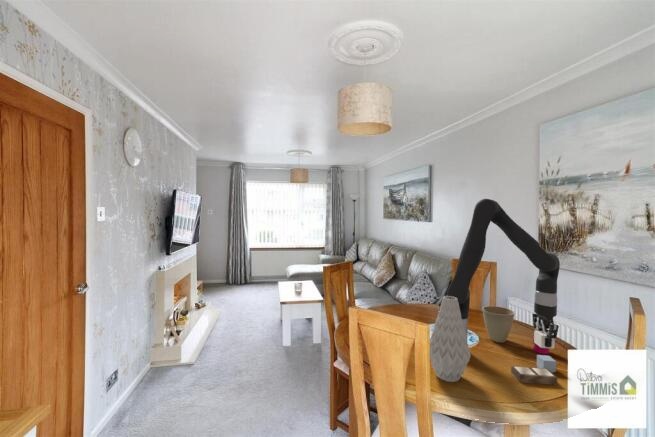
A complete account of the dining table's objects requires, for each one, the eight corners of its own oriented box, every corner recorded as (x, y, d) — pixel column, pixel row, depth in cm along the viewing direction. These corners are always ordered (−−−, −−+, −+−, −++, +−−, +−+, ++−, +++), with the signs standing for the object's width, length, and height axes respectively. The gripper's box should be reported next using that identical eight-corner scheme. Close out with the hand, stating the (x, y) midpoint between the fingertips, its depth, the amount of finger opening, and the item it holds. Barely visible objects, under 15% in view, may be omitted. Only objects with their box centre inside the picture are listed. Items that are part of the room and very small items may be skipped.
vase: (430, 362, 138) (433, 289, 137) (471, 372, 130) (474, 296, 129) (421, 379, 124) (424, 299, 123) (466, 393, 115) (469, 306, 114)
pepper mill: (545, 355, 146) (546, 314, 146) (529, 349, 153) (530, 309, 152) (553, 352, 150) (555, 312, 149) (537, 346, 156) (539, 307, 155)
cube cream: (541, 347, 123) (541, 335, 123) (533, 342, 128) (534, 330, 128) (554, 348, 123) (554, 336, 122) (546, 343, 128) (547, 331, 127)
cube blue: (543, 371, 132) (543, 360, 132) (536, 365, 137) (537, 354, 137) (555, 372, 131) (556, 361, 131) (548, 366, 136) (549, 355, 136)
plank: (519, 382, 123) (519, 374, 123) (511, 372, 130) (511, 365, 130) (556, 384, 122) (557, 377, 122) (546, 375, 129) (546, 368, 129)
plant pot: (502, 334, 171) (503, 305, 171) (519, 346, 157) (521, 315, 156) (476, 333, 171) (477, 305, 170) (491, 345, 156) (492, 314, 156)
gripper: (526, 297, 132) (524, 336, 133) (546, 307, 118) (544, 351, 119) (544, 297, 131) (543, 337, 132) (567, 308, 117) (565, 352, 118)
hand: (543, 343), depth 125 cm, fingers closed on cube cream, 5 cm apart
